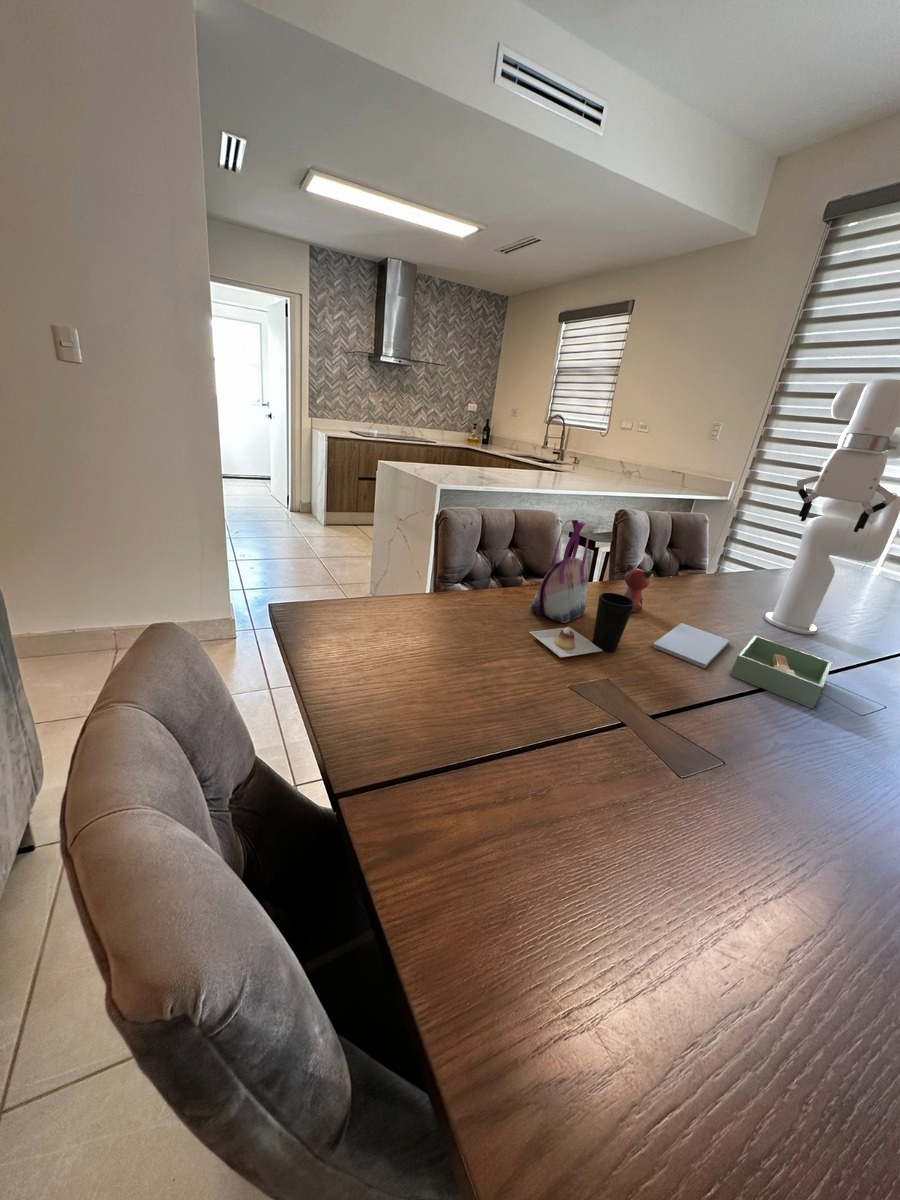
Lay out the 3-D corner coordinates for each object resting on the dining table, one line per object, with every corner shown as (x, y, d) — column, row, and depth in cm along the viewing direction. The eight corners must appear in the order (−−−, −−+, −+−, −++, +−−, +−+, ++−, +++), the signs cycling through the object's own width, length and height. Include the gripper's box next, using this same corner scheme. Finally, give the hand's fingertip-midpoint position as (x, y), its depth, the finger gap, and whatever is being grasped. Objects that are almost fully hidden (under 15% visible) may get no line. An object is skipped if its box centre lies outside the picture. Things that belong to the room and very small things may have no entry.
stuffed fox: (606, 609, 131) (617, 569, 127) (619, 599, 140) (629, 561, 135) (633, 618, 127) (645, 577, 123) (644, 607, 136) (656, 568, 131)
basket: (747, 653, 115) (755, 635, 113) (822, 681, 106) (832, 662, 104) (729, 675, 104) (737, 655, 102) (812, 708, 94) (823, 687, 92)
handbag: (550, 630, 115) (572, 530, 105) (518, 615, 121) (535, 519, 111) (593, 611, 129) (616, 522, 120) (562, 598, 135) (581, 513, 126)
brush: (765, 663, 110) (770, 652, 109) (784, 668, 108) (789, 657, 107) (770, 685, 100) (776, 673, 99) (791, 691, 99) (797, 679, 97)
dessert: (568, 631, 115) (572, 613, 114) (602, 655, 106) (607, 636, 104) (528, 636, 110) (531, 617, 108) (559, 661, 100) (564, 642, 99)
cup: (623, 657, 106) (637, 608, 101) (588, 650, 107) (601, 602, 102) (618, 642, 113) (631, 596, 108) (586, 635, 114) (598, 590, 109)
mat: (680, 626, 126) (681, 622, 126) (728, 643, 119) (729, 640, 119) (651, 647, 112) (653, 643, 112) (704, 668, 105) (705, 664, 105)
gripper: (917, 452, 95) (878, 534, 101) (815, 440, 105) (785, 516, 112) (919, 451, 90) (878, 537, 96) (812, 438, 100) (780, 518, 106)
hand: (828, 526), depth 104 cm, fingers open, 9 cm apart
